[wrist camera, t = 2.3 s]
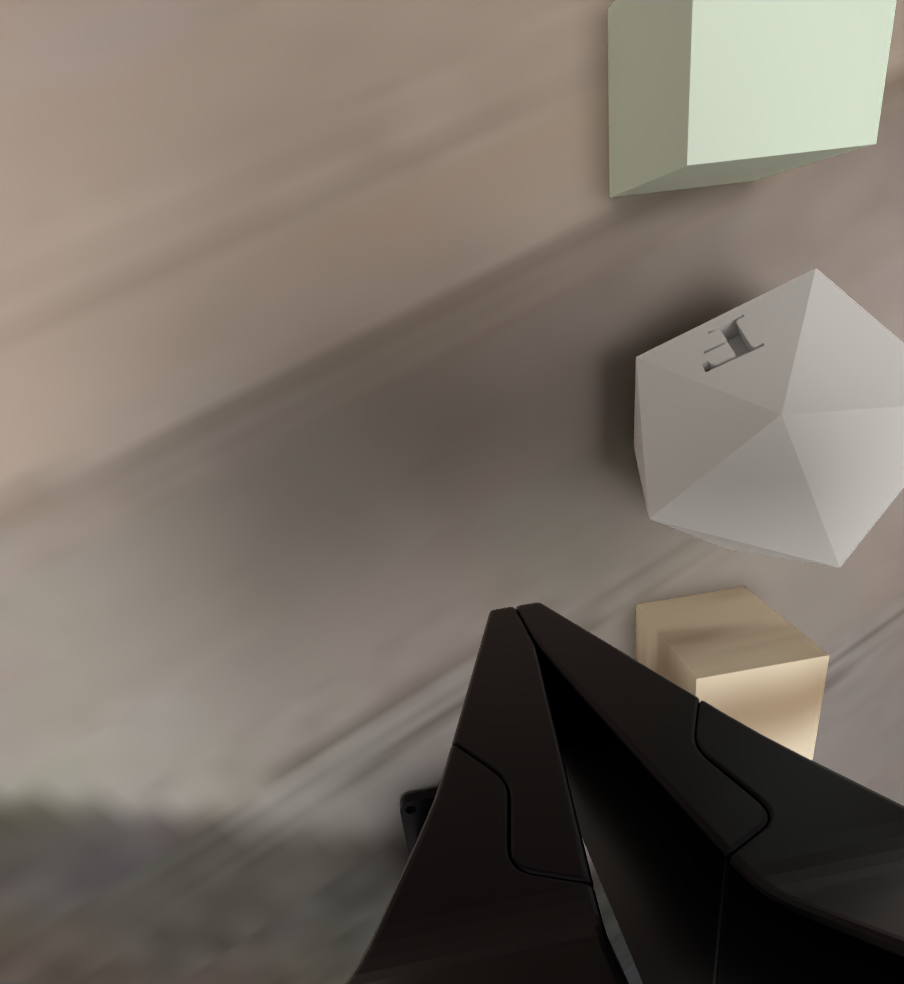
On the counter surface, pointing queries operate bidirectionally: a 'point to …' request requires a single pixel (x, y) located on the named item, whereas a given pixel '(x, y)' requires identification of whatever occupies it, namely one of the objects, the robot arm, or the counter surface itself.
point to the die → (774, 425)
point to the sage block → (740, 87)
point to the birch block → (738, 661)
